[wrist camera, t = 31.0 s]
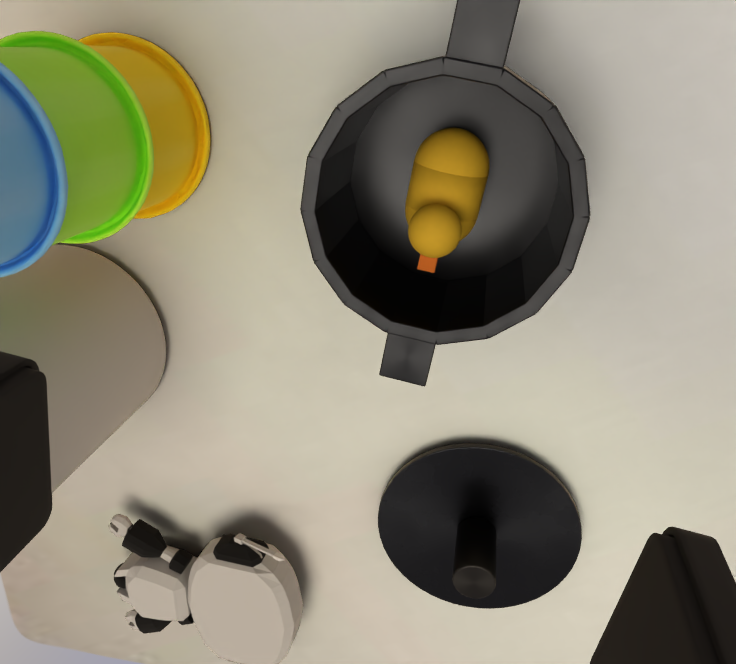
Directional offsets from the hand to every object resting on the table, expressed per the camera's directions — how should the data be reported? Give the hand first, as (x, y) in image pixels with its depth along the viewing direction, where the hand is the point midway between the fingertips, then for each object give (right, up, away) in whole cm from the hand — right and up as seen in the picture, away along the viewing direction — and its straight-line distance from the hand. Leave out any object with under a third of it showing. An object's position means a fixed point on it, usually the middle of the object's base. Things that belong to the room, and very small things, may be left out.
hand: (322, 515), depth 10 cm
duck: (+5, +11, +25) cm, 28 cm away
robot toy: (-11, -16, +41) cm, 45 cm away
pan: (+5, +11, +25) cm, 28 cm away
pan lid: (+8, -10, +34) cm, 36 cm away
